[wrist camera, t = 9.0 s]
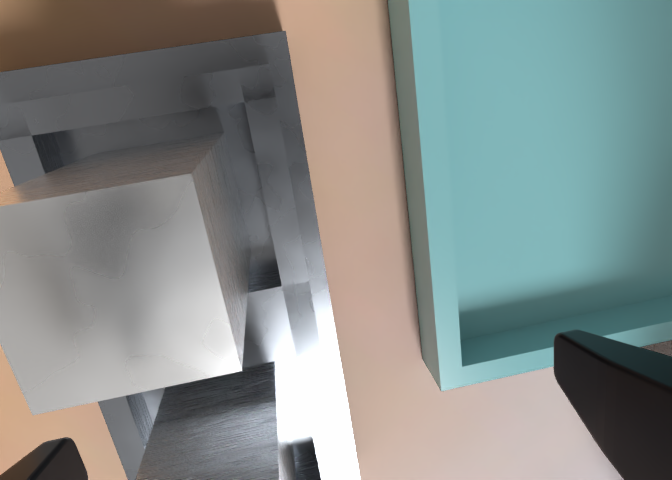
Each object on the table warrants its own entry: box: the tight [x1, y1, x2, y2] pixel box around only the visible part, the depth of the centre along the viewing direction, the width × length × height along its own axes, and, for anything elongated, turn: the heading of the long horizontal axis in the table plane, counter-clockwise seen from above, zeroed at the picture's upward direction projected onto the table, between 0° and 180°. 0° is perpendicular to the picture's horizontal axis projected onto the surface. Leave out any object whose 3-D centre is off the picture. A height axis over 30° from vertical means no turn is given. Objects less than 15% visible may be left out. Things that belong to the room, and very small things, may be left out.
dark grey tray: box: [0, 31, 361, 480], centre depth 19 cm, size 20×10×3 cm, turn 8°
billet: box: [0, 132, 251, 415], centre depth 13 cm, size 4×4×8 cm
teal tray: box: [388, 0, 672, 391], centre depth 19 cm, size 18×18×2 cm
